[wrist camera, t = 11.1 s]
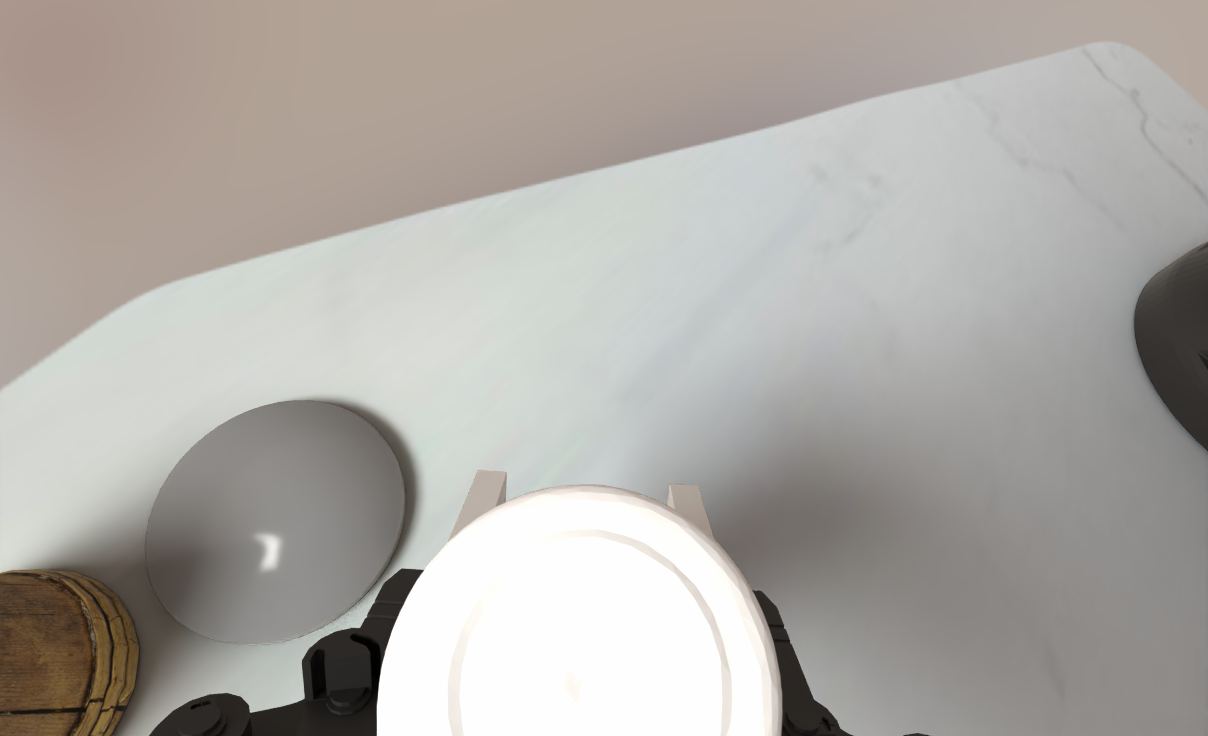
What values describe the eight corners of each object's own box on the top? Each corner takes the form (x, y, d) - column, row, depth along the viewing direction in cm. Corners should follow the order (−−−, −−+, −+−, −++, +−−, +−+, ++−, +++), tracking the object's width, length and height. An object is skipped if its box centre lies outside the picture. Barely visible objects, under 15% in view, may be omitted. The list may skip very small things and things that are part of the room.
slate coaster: (450, 464, 27) (446, 458, 26) (308, 693, 23) (300, 693, 22) (266, 374, 29) (259, 366, 28) (101, 573, 24) (87, 570, 24)
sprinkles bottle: (560, 571, 20) (553, 405, 8) (675, 663, 19) (866, 634, 7) (464, 698, 18) (267, 732, 6) (585, 809, 17) (635, 1111, 5)
